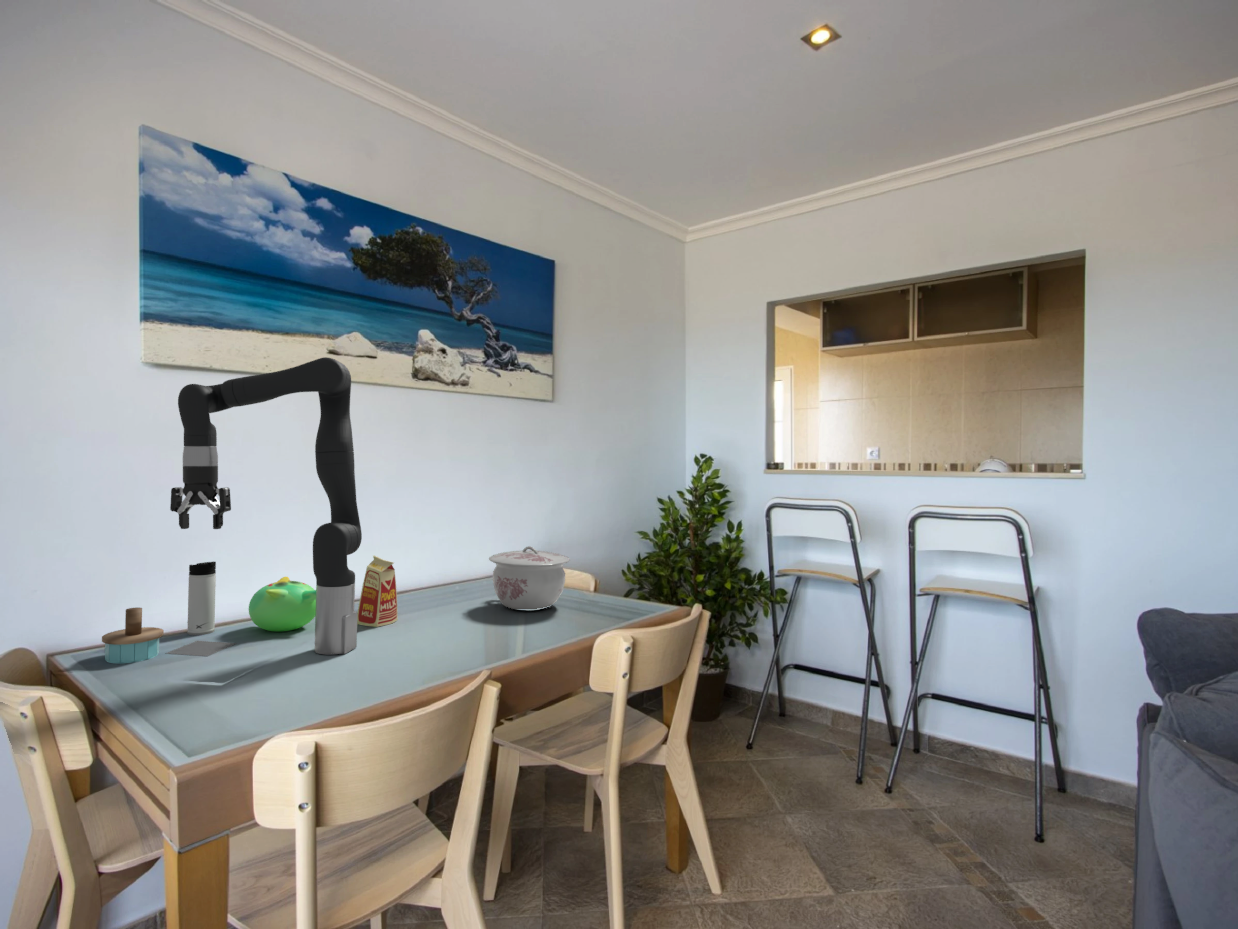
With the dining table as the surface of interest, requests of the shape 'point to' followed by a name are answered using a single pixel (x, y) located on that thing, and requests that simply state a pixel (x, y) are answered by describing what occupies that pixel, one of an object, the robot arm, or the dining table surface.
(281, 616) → the toy bird
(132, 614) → the lid
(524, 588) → the chamber pot
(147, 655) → the bowl
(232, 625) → the dining table surface
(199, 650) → the mat
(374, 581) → the milk carton
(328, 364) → the robot arm
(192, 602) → the travel mug
